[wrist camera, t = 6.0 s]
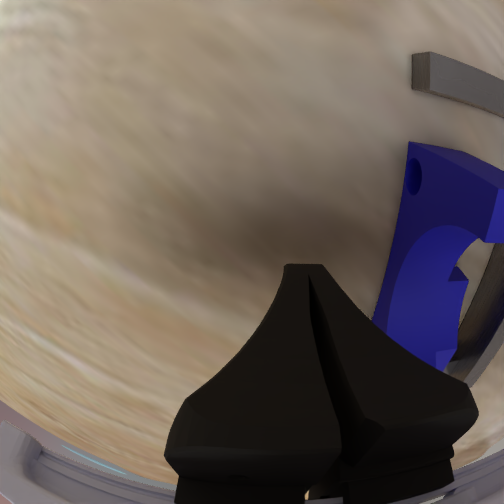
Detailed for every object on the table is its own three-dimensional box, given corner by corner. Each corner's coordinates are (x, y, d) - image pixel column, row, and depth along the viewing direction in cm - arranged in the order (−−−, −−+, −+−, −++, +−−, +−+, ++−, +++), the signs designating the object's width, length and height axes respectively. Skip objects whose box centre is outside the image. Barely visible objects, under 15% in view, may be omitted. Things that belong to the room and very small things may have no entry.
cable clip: (423, 342, 16) (453, 419, 11) (361, 348, 16) (380, 435, 11) (483, 155, 10) (571, 206, 5) (406, 140, 10) (498, 188, 5)
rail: (537, 105, 8) (576, 118, 5) (457, 356, 17) (471, 387, 14) (412, 54, 8) (452, 48, 6) (353, 369, 17) (361, 407, 14)
